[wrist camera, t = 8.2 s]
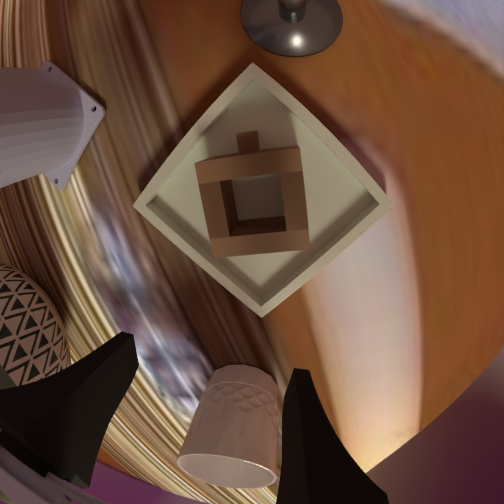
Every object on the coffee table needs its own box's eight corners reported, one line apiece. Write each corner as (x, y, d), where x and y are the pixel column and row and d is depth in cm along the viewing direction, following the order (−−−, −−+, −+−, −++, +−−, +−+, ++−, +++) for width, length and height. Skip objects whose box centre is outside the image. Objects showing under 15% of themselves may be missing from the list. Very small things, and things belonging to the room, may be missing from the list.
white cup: (294, 370, 24) (291, 467, 15) (270, 414, 28) (260, 493, 19) (210, 349, 25) (178, 443, 15) (199, 396, 28) (174, 474, 19)
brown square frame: (224, 239, 20) (213, 258, 17) (205, 139, 17) (190, 141, 14) (307, 231, 19) (310, 249, 16) (295, 126, 16) (296, 125, 13)
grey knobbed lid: (221, 19, 14) (204, -6, 10) (286, -33, 11) (285, -65, 8) (295, 76, 15) (298, 60, 11) (361, 20, 13) (378, -4, 9)
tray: (142, 200, 20) (132, 206, 18) (255, 67, 15) (252, 62, 14) (263, 306, 22) (261, 317, 21) (386, 199, 17) (394, 205, 16)
